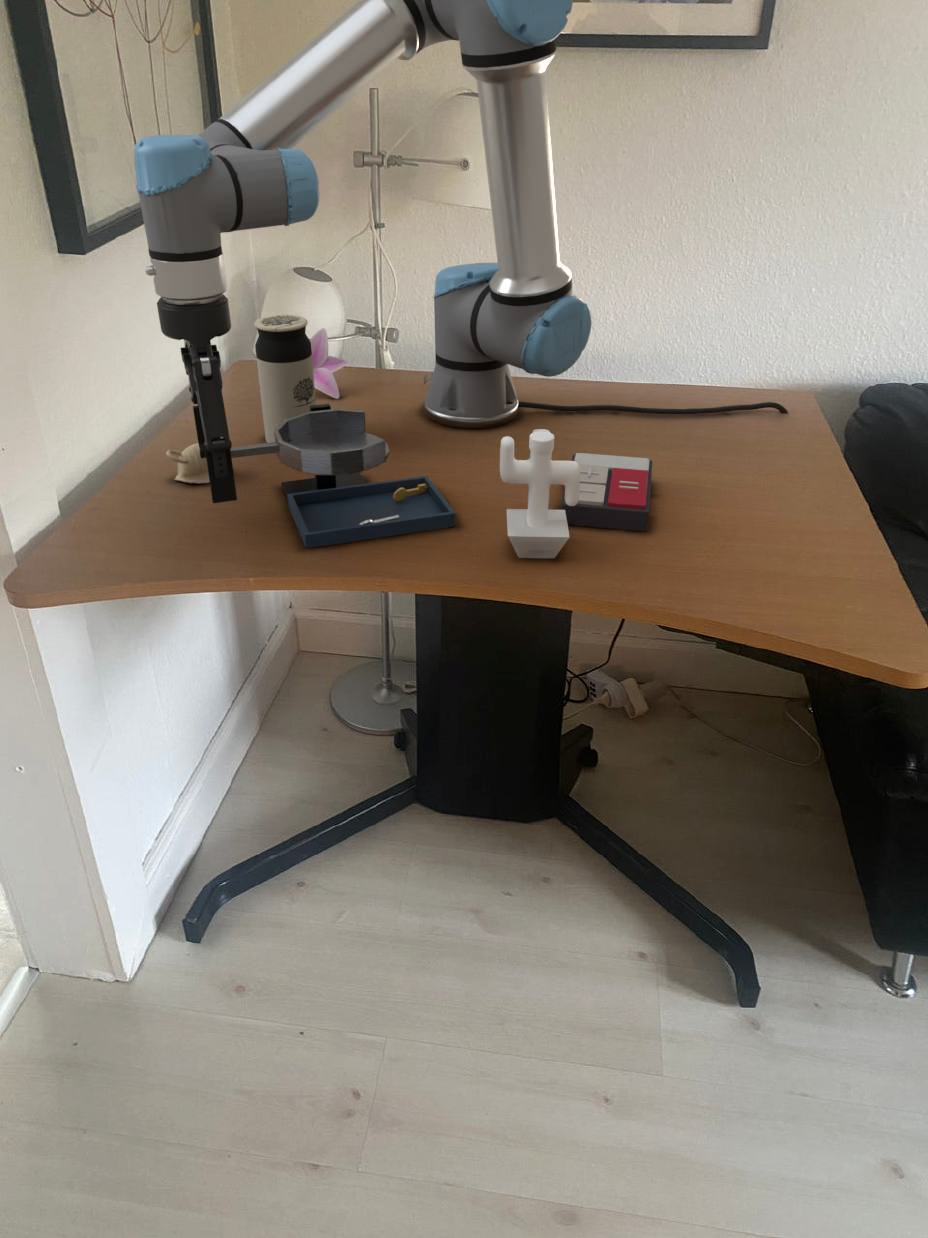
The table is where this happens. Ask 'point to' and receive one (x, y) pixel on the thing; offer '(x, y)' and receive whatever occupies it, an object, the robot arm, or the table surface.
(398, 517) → the nickel key
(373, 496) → the tray
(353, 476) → the stand
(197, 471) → the decorative ornament
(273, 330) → the travel mug
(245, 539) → the table surface
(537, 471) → the figurine
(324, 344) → the lily
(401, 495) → the brass key
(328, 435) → the grey frying pan
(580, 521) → the calculator
